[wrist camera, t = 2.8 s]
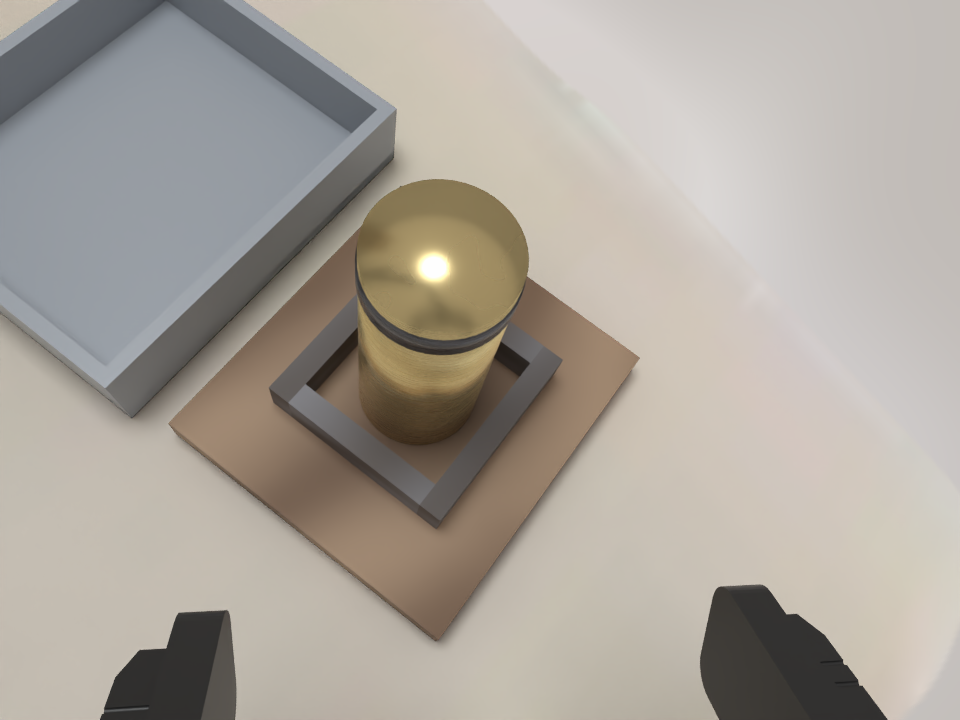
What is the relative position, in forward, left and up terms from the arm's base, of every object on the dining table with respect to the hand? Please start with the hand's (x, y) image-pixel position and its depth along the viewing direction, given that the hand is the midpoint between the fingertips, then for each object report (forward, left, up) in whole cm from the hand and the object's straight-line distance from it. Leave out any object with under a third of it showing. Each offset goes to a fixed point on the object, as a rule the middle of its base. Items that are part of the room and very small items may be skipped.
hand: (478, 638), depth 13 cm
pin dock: (-5, +7, -13) cm, 16 cm away
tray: (-18, +7, -13) cm, 24 cm away
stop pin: (-5, +7, -12) cm, 15 cm away
